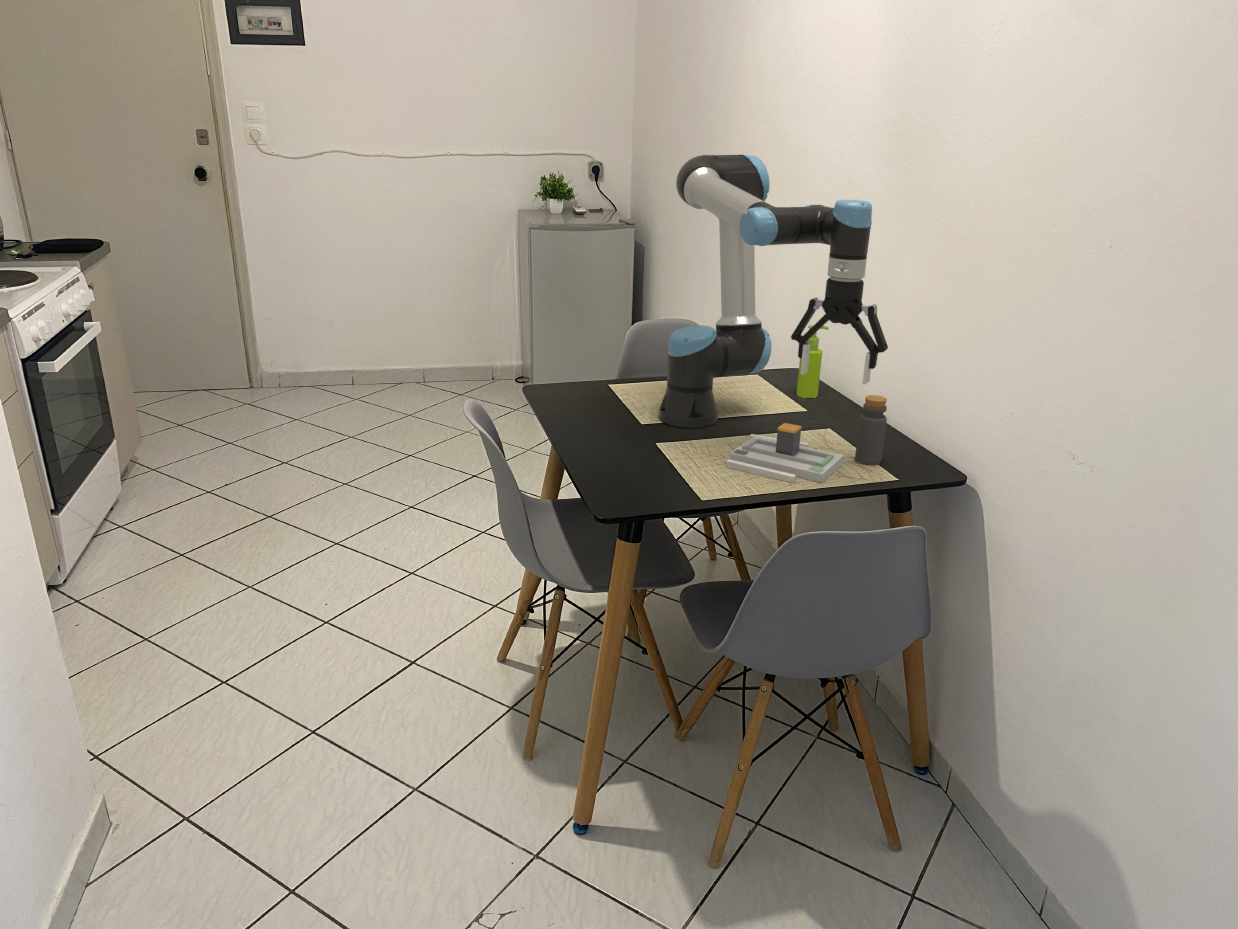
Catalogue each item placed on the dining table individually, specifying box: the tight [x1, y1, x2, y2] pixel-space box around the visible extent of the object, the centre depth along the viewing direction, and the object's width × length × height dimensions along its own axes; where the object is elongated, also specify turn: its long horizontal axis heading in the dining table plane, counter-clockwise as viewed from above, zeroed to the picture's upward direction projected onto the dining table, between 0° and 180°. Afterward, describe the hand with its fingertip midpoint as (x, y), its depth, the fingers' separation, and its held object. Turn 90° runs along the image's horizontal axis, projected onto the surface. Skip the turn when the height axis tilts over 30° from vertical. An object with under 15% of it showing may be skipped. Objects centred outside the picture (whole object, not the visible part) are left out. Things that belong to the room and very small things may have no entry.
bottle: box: [854, 394, 888, 466], centre depth 200 cm, size 6×6×15 cm
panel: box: [728, 436, 845, 483], centre depth 200 cm, size 22×14×3 cm, turn 57°
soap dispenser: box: [796, 324, 830, 399], centre depth 245 cm, size 6×7×20 cm
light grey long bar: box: [725, 458, 797, 484], centre depth 194 cm, size 16×1×1 cm, turn 57°
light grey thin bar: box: [748, 433, 809, 447], centre depth 211 cm, size 14×1×1 cm, turn 65°
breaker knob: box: [776, 422, 802, 456], centre depth 199 cm, size 4×4×6 cm
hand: (834, 378), depth 190 cm, fingers open, 13 cm apart
